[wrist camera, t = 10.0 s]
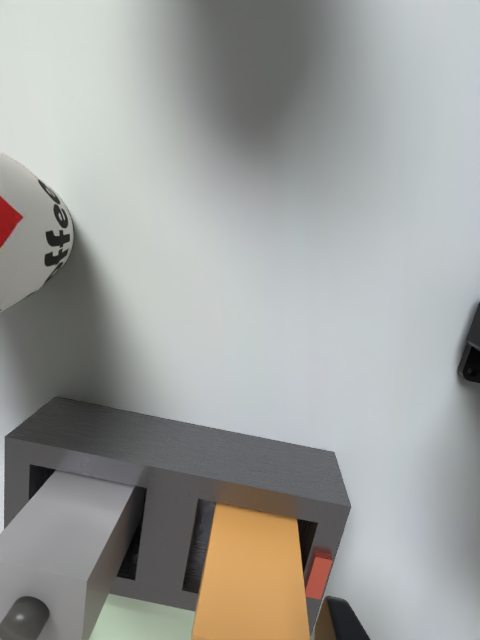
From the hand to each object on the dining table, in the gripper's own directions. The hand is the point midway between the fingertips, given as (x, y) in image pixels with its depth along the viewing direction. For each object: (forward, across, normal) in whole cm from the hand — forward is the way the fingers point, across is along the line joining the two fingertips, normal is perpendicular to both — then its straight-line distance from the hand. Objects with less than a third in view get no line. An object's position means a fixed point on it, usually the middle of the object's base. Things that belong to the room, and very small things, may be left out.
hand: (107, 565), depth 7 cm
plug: (+11, -4, +8) cm, 14 cm away
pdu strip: (+12, 0, +8) cm, 14 cm away
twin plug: (+11, +4, +8) cm, 14 cm away
